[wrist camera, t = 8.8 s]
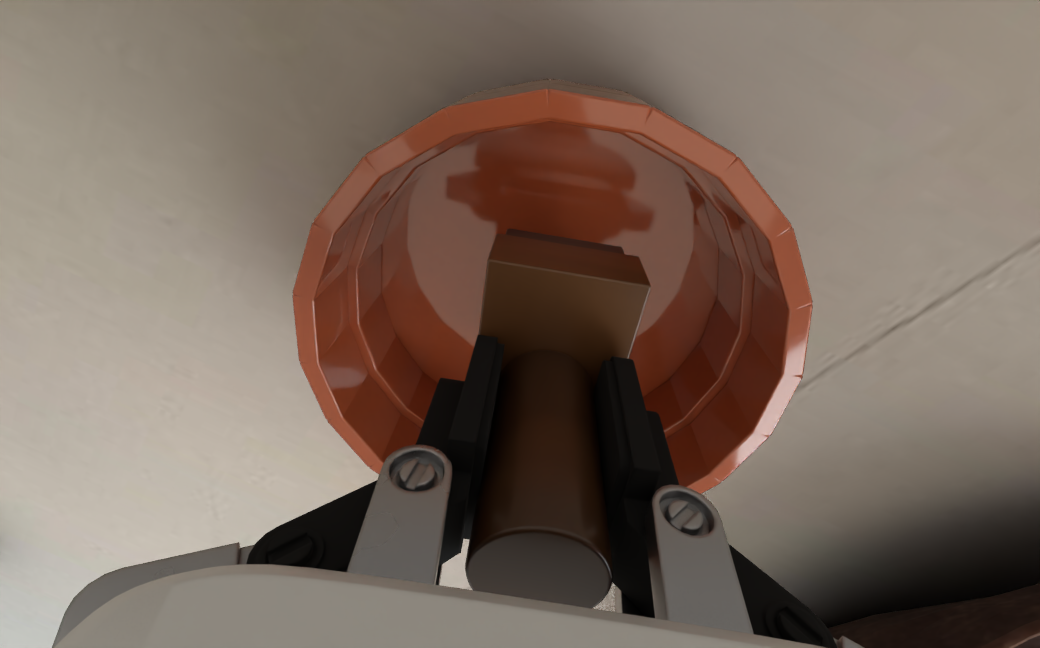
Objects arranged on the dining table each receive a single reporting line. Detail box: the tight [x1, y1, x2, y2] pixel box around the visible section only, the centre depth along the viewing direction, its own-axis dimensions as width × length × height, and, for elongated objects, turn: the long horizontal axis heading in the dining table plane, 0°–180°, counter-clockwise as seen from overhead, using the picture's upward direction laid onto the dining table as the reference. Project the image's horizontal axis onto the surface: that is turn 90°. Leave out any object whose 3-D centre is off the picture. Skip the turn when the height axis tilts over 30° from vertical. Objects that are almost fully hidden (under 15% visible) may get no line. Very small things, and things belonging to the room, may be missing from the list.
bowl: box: [293, 79, 813, 494], centre depth 16 cm, size 14×14×6 cm
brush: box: [465, 228, 651, 609], centre depth 12 cm, size 7×4×9 cm, turn 172°
